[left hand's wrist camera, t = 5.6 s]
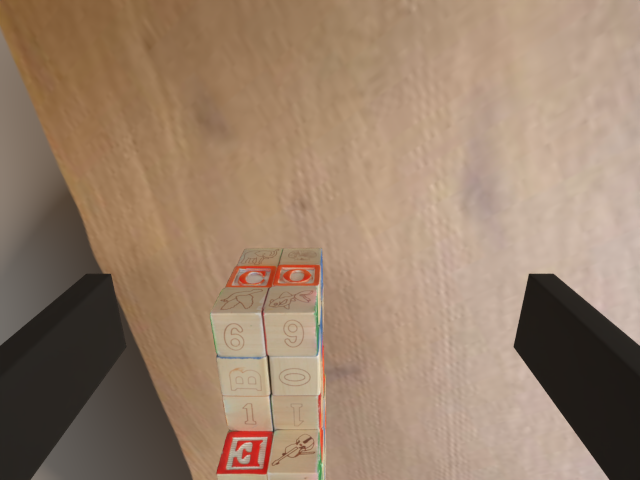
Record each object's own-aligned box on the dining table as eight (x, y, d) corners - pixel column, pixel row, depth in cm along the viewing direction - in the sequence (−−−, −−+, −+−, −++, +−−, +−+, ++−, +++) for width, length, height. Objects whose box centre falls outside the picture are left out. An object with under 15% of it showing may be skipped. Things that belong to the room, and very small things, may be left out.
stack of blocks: (242, 246, 31) (191, 345, 20) (323, 245, 31) (317, 345, 20) (262, 446, 40) (235, 597, 28) (327, 447, 39) (324, 599, 28)
